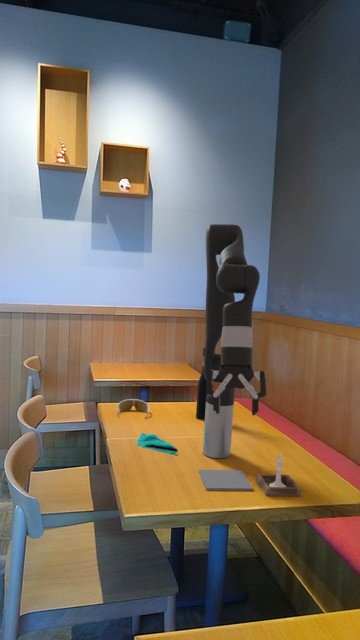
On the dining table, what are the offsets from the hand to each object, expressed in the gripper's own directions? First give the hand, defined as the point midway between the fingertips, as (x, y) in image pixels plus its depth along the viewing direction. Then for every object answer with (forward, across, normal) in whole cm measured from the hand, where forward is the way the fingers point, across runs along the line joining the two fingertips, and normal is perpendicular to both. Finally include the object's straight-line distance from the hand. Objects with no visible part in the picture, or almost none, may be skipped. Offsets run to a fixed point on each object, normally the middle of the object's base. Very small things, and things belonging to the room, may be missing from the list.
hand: (235, 414), depth 110 cm
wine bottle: (+10, +24, -87) cm, 91 cm away
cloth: (+16, +33, -46) cm, 59 cm away
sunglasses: (+10, +54, -80) cm, 96 cm away
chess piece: (+22, -9, -24) cm, 34 cm away
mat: (+21, +6, -24) cm, 32 cm away
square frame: (+22, -9, -24) cm, 34 cm away
